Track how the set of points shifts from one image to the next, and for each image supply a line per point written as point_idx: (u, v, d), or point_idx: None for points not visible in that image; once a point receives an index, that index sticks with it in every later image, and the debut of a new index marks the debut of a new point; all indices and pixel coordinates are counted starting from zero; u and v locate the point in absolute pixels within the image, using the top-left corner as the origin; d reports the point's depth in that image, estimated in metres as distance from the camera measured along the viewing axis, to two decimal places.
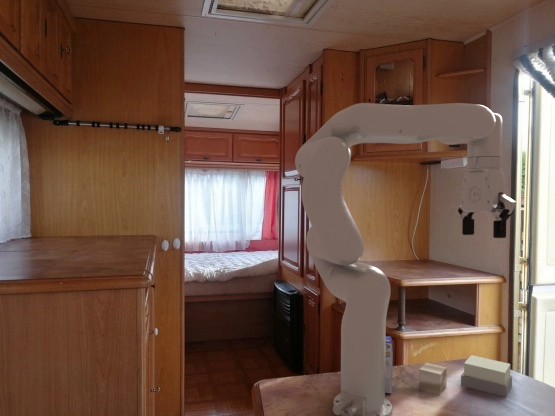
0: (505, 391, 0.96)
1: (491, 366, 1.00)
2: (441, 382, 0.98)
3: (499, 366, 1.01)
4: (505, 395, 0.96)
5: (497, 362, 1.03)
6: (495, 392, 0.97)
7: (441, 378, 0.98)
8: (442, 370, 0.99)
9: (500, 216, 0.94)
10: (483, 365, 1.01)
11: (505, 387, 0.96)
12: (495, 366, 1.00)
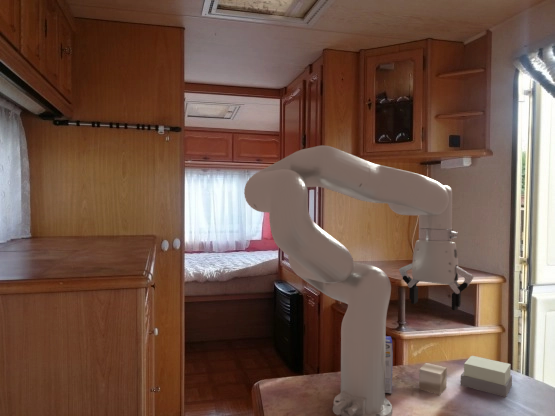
0: (505, 391, 0.96)
1: (491, 366, 1.00)
2: (441, 382, 0.98)
3: (499, 366, 1.00)
4: (505, 395, 0.96)
5: (497, 362, 1.03)
6: (495, 392, 0.98)
7: (441, 378, 0.98)
8: (442, 370, 0.99)
9: None
10: (483, 365, 1.01)
11: (505, 387, 0.96)
12: (495, 366, 1.00)
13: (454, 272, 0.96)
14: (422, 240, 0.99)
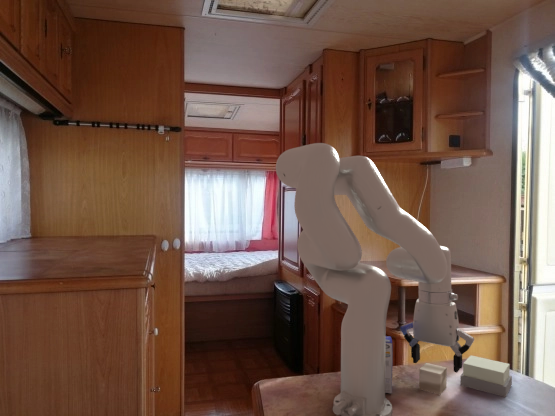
0: (504, 391, 0.96)
1: (490, 366, 1.00)
2: (441, 382, 0.98)
3: (498, 366, 1.01)
4: (504, 395, 0.96)
5: (496, 362, 1.03)
6: (494, 392, 0.98)
7: (441, 378, 0.98)
8: (442, 370, 0.99)
9: None
10: (482, 365, 1.01)
11: (504, 387, 0.96)
12: (494, 366, 1.00)
13: (455, 335, 0.97)
14: (422, 302, 0.99)
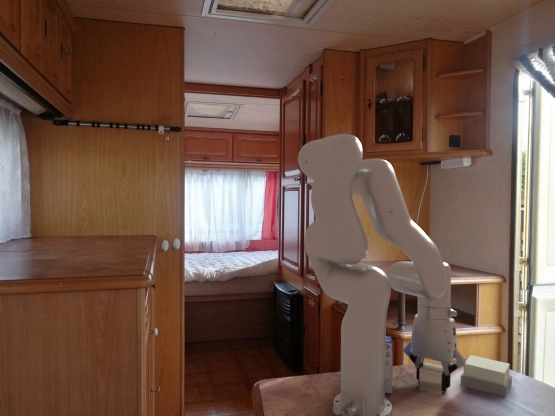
0: (505, 391, 0.96)
1: (490, 366, 1.00)
2: (441, 382, 0.98)
3: (498, 366, 1.01)
4: (505, 395, 0.96)
5: (496, 362, 1.03)
6: (495, 392, 0.98)
7: (441, 378, 0.98)
8: (442, 370, 0.99)
9: None
10: (482, 365, 1.01)
11: (505, 387, 0.96)
12: (495, 366, 1.00)
13: (453, 351, 0.96)
14: (421, 317, 0.99)
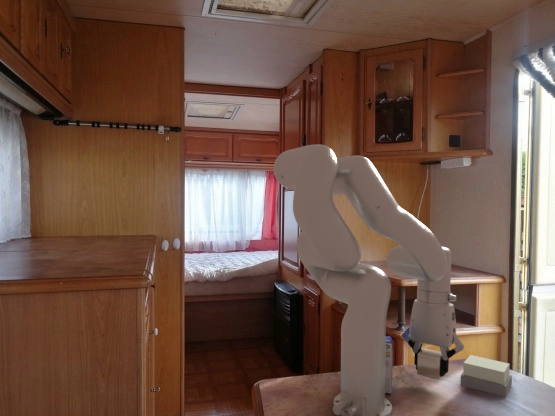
0: (505, 391, 0.96)
1: (490, 366, 1.00)
2: (439, 367, 0.97)
3: (498, 365, 1.01)
4: (505, 395, 0.96)
5: (496, 362, 1.03)
6: (495, 392, 0.98)
7: (439, 363, 0.97)
8: (440, 355, 0.99)
9: None
10: (482, 364, 1.01)
11: (505, 387, 0.96)
12: (495, 366, 1.00)
13: (452, 336, 0.96)
14: (420, 301, 0.99)
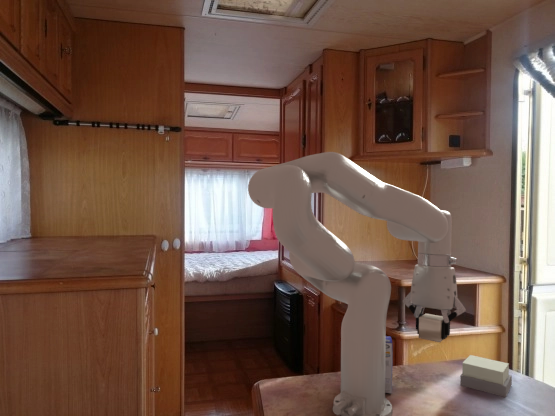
0: (505, 391, 0.96)
1: (489, 366, 1.00)
2: None
3: (497, 365, 1.01)
4: (505, 395, 0.96)
5: (495, 362, 1.03)
6: (495, 392, 0.98)
7: (441, 325, 0.97)
8: (442, 318, 0.99)
9: None
10: (481, 365, 1.01)
11: (504, 387, 0.96)
12: (494, 366, 1.00)
13: (453, 298, 0.96)
14: (421, 265, 0.99)
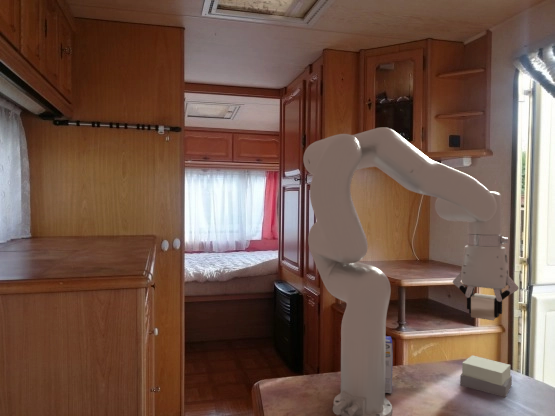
0: (504, 391, 0.96)
1: (489, 366, 1.00)
2: None
3: (497, 366, 1.00)
4: (504, 395, 0.96)
5: (497, 363, 1.03)
6: (494, 392, 0.98)
7: None
8: (494, 297, 1.01)
9: None
10: (481, 365, 1.01)
11: (504, 387, 0.96)
12: (494, 367, 1.00)
13: (506, 277, 0.98)
14: (472, 246, 1.01)
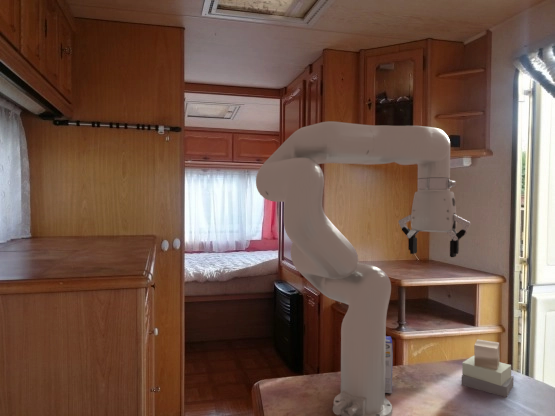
0: (505, 392, 0.96)
1: None
2: (497, 356, 0.99)
3: None
4: (505, 396, 0.96)
5: None
6: (495, 393, 0.98)
7: (497, 353, 0.99)
8: (496, 345, 1.01)
9: None
10: None
11: (505, 388, 0.96)
12: None
13: (452, 219, 0.98)
14: (421, 190, 1.01)
